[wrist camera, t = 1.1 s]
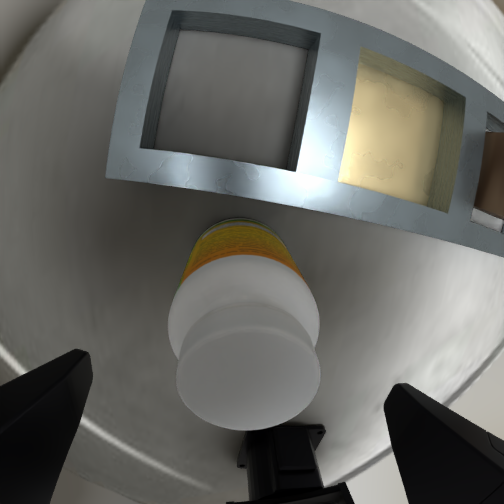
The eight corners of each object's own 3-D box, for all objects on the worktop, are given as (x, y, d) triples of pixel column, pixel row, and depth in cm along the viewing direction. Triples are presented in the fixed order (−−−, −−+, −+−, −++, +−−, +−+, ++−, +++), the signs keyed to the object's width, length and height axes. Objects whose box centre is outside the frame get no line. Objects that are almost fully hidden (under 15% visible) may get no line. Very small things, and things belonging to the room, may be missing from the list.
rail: (505, 254, 18) (525, 264, 16) (123, 174, 15) (105, 177, 12) (526, 138, 15) (547, 140, 13) (160, 7, 12) (150, -13, 10)
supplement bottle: (180, 227, 16) (117, 319, 7) (279, 207, 16) (343, 278, 7) (203, 315, 18) (184, 451, 8) (293, 298, 18) (345, 425, 8)
